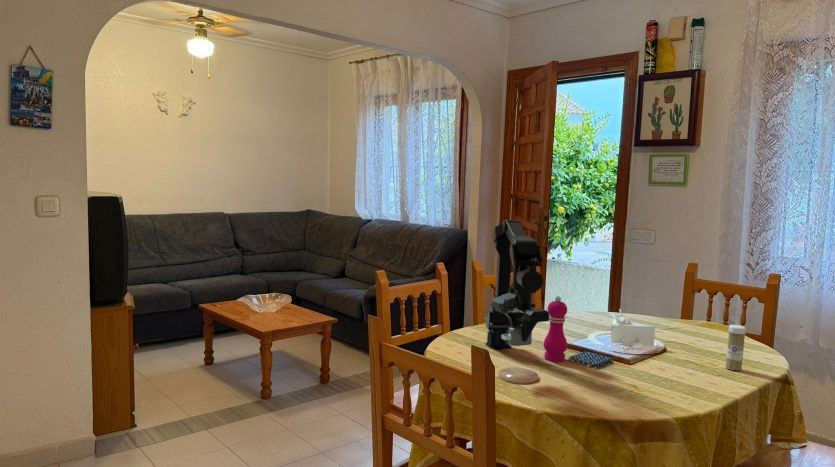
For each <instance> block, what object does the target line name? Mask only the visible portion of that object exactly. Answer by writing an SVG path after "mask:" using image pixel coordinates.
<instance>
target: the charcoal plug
mask: <svg viewBox="0 0 835 467" xmlns="http://www.w3.org/2000/svg"><path fill="white" fill-rule="evenodd" d="M501 338H502V339H504V340H508V344H509V345H510V346H512V347H513V346H514V347H520V346H521V347H522V346H529V345H532V340H533V339H532V338H533V331H532V332H531V334H530V335H529V337H528V339H527V341H524V342H523V341H522V325H521V326H511V327H509V333H508V334H502V335H501Z"/></svg>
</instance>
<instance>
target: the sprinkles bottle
mask: <svg viewBox="0 0 835 467" xmlns="http://www.w3.org/2000/svg"><path fill="white" fill-rule="evenodd" d="M746 333H747V328H746V326H743V325H739V324H730V325H728V340H727V349H726V362H725V367H726V368H727V370H728V369H730V370H729V371H732V370H741V371H743V369H742V366H743V358H744V350H745V348H744V347H745V338H746V337H745V336H746Z"/></svg>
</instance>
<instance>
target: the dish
mask: <svg viewBox="0 0 835 467" xmlns="http://www.w3.org/2000/svg"><path fill="white" fill-rule="evenodd" d="M618 310H619V313H620V314H619V315H620V317H618V316H617V315H616V314H614V312H612V313H611V316H612V317H613V319H612V322H611V324H610V325H611V326H610V330H600V331H594V332H592V333H589V334H588V337H587V341H588V340H590V341H591V342H593V343H595V344H599V345H600V344H602V343H600V342H598V341H597V340H596V339H595V338H596V337H597V336H602V335H607V336H611V338H610V343H623V344H619V346H621V347H624V348H629V347H630V346H632V347H634V348H645V346H647V345H652V346H656V347H659V348H661V349H664V350H665V344H664V343H663V342H662V341H661V340H659V339H656V338H655V337H656V336H655V334H656V326H653V325H649V324H644V323H639V322H635V321H631V319H629V318H628V317H626V316H623V312H622V311H621V309H620V308H619V309H618ZM624 344H625V345H624ZM602 345H604V344H602ZM608 347H611V346H608ZM661 349H660V350H661ZM658 351H659V350H658Z"/></svg>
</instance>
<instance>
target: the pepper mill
mask: <svg viewBox="0 0 835 467" xmlns="http://www.w3.org/2000/svg"><path fill="white" fill-rule="evenodd" d="M561 300H562V298H561V296H559V295H557V296H555V298H554V300H553V301H551V302H550V303H548V306H547V311H548V313H549V314H550V316H549V321H548V322H549V329H548V332H547V334H546V336H545V338H544V340H543V348H544V350H545V351H544V356H543V358H544V360H546V361H549V362H554V363H562V362H564V361H565V360H566V353H564V352H566V351H567V349H568V342H567V338H566V336H565V332H564V323H565V322H566V315H567V313H568V307H567V304H566V303H565V302H563V301H561Z"/></svg>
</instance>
